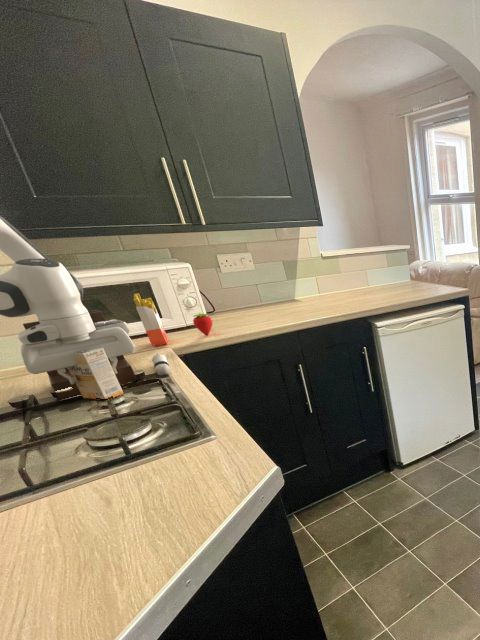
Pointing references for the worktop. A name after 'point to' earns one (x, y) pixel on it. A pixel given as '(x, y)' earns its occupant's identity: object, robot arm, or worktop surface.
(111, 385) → the supplement box
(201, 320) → the strawberry
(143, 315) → the french fries container
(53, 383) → the step shelf
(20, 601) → the worktop surface
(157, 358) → the torpedo
